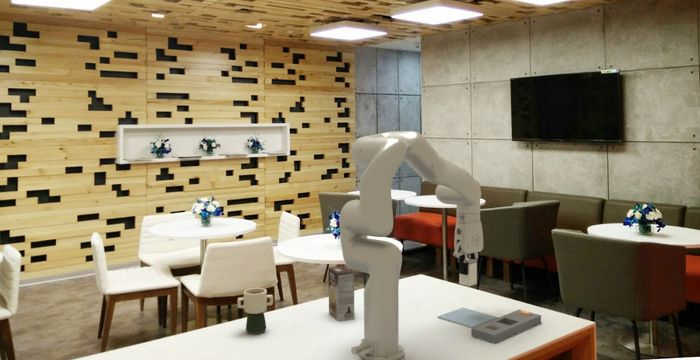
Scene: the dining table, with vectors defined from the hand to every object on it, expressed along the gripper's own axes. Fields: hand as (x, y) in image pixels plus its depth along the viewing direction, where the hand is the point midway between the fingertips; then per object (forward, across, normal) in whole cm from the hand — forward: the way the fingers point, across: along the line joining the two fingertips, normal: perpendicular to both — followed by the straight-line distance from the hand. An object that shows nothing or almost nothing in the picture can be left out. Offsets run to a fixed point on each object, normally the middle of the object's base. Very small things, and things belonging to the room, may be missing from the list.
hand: (468, 272), depth 182 cm
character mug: (+15, -58, +37) cm, 71 cm away
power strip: (+15, 0, -15) cm, 21 cm away
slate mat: (+15, 0, 0) cm, 15 cm away
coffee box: (+15, -29, +30) cm, 45 cm away
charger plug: (+4, 0, 0) cm, 4 cm away
